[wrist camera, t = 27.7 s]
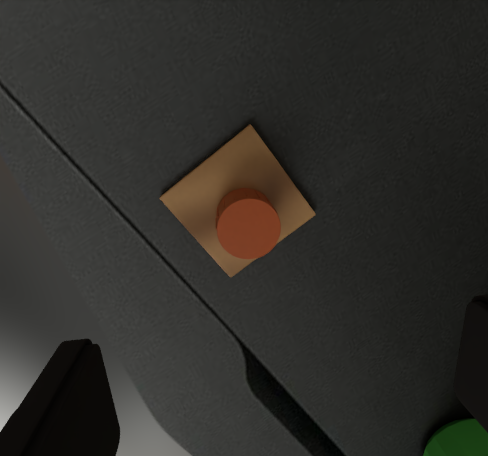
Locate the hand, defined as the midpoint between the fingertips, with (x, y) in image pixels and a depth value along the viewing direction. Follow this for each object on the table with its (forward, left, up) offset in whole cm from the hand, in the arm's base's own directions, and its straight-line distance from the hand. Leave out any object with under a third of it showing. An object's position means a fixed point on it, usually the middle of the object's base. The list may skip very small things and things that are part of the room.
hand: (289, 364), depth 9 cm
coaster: (0, 0, -17) cm, 17 cm away
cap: (+1, 0, -16) cm, 16 cm away
